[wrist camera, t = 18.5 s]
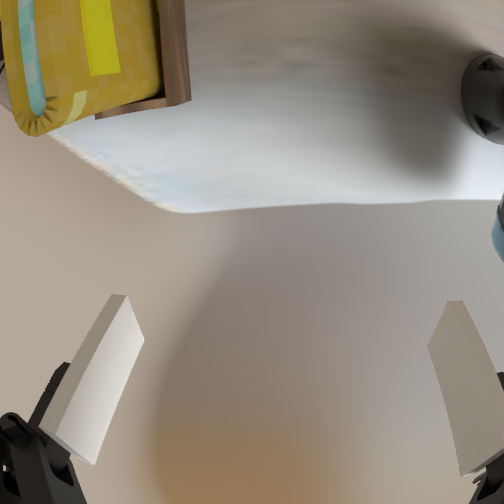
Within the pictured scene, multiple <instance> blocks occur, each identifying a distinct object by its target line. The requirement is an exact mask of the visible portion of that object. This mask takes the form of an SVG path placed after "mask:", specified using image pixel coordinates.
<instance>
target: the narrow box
mask: <svg viewBox="0 0 504 504" xmlns="http://www.w3.org/2000/svg"><path fill="white" fill-rule="evenodd" d="M159 18H160V34H161V48H162V61H163V73H164V83H165V91H163V92H162V93H161V94H159V95H156V96H152V97H149V98H145V99H141V100H138V101H134V102H131V103H127V104H124V105H121V106H117V107H114V108H111V109H108V110H105V111H102V112H99V113H96V114H95V120H97V119H101V118H106V117H111V116H115V115H121V114H126V113H131V112H137V111H143V110H149V109H156V108H163V107H170V106H177V105H179V104H182V103H185V102H188V101H191V90H190V79H189V66H188V53H187V39H186V23H185V5H184V0H159Z"/></svg>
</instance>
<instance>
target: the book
mask: <svg viewBox="0 0 504 504" xmlns="http://www.w3.org/2000/svg"><path fill="white" fill-rule="evenodd" d="M0 17H1V31H2V43H3V53H4V62H5V69H6V76H7V82H8V88H9V94H10V99H11V104H12V109H13V114H14V118H15V121H16V122H17V124H18V126H19V128H20V129H21V130H22V131H23V132H24V133H26V134H27V135H29V136H36V137H38V136H40V135H42V134H45V133H47V132H49V131H52V130H54V129H56V128H59V127H61V126H64V125H66V124H69V123H71V122H74V121H77V120H79V119H82V118H85V117H88V116H90V115H93V114H96V113H99V112H102V111H105V110H108V109H111V108H114V107H117V106H121V105H124V104H127V103H131V102H134V101H138V100H141V99H145V98H149V97H152V96H156V95H159V94H161V93H162V92H163V91H165V83H164V73H163V61H162V48H161V34H160V18H159V0H0Z"/></svg>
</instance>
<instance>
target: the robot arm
mask: <svg viewBox="0 0 504 504" xmlns="http://www.w3.org/2000/svg"><path fill="white" fill-rule="evenodd" d="M461 94H462V103H463V107H464V111H465V114H466V116H467V118H468V120H469V122H470V124H471V125H472V127H473V128H474V130H475V131H476V132H477V133H478V134H479V135H481V136H482V137H484V138H485V139H487V140H489V141H491V142H493V143H496V144H501V145H504V57H501V56H496V55H482V56H479V57H477V58H476V59H474V60H473V61H472V62H471V63H470V64H469V66H468V67H467V69H466V71H465V73H464V76H463V80H462V89H461ZM492 239H493V245H494V247H495V250H496V252H497V253H498V255H499V257H500V258H501V259H502V261H503V262H504V193H503V196H502V199H501V202H500V204H499V205H498V208H497V215H496V219H495V222H494V225H493V228H492ZM143 342H144V338H143V335H142V333H141V330H140V328H139V325H138V323H137V320H136V318H135V315H134V313H133V310H132V307H131V305H130V302H129V300H128V297H127V295H115V294H113V295H111V296H110V298H109V300H108V301H107V303H106V305H105V306H104V308H103V310H102V311H101V312H100V314H99V316H98V317H97V319H96V321H95V322H94V324H93V326H92V327H91V329H90V331H89V332H88V334H87V336H86V337H85V339H84V341H83V343H82V345H81V346H80V348H79V350H78V351H77V353H76V355H75V357H74V358H73V360H72V362H71V363H67V362H64V363H63V364H62V365H61V366H60V367H58V368H57V369H56V370H55V372H54V374H53V376H52V377H51V379H50V383H48V385H47V387H46V388H45V392H43V394H42V396H41V398H40V400H39V402H38V404H37V406H36V408H35V410H34V412H33V414H32V416H31V418H30V420H29V421H28V423H26V422H25V421H24V420H23V419H22V418H21V417H20V416H19V415H18V414H16V413H13V412H9V413H6V414H4V415H3V416H2V417H1V418H0V504H87V502H86V500H85V497H84V495H83V492H82V490H81V487H80V484H79V482H78V479H77V476H76V473H75V470H74V467H73V464H72V462H71V460H70V458H69V457H70V454H72V455H73V456H75V457H76V458H77V459H79V460H81V461H84V462H86V463H89V464H92V465H95V462H96V459H97V457H98V454H99V451H100V448H101V445H102V443H103V440H104V437H105V435H106V432H107V429H108V427H109V424H110V422H111V419H112V417H113V414H114V412H115V409H116V406H117V404H118V401H119V399H120V396H121V394H122V392H123V389H124V387H125V384H126V382H127V379H128V377H129V374H130V372H131V370H132V367H133V365H134V363H135V361H136V358H137V356H138V354H139V351H140V349H141V347H142V344H143ZM428 349H429V352H430V355H431V359H432V362H433V365H434V368H435V371H436V374H437V377H438V381H439V384H440V387H441V391H442V394H443V398H444V402H445V405H446V409H447V413H448V417H449V421H450V425H451V429H452V434H453V438H454V443H455V448H456V453H457V457H458V463H459V468H460V474H461V477H464V476H467V475H470V474H473V473H476V472H478V471H480V470H481V469H483V468H484V467H486V472H484V473H482V474H481V475H479V476H478V477H477V478H475V479H474V481H473V484H474V483H476V482H478V481H479V480H481V481H480V482H479V483H478V484H477V485H478V487H477V489H476V491H475V493H474V495H473V497H472V499H471V501H470V503H469V504H504V373H503V372H499V373H496V371H495V368H494V366H493V364H492V361H491V359H490V357H489V354H488V352H487V350H486V348H485V346H484V343H483V341H482V339H481V337H480V335H479V333H478V331H477V329H476V327H475V325H474V323H473V321H472V319H471V317H470V315H469V313H468V311H467V309H466V307H465V305H464V303H463V301H448V302H447V304H446V307H445V309H444V311H443V314H442V316H441V318H440V320H439V323H438V325H437V327H436V329H435V332H434V334H433V335H432V338H431V340H430V342H429V344H428ZM3 465H5V466H6V471H3Z"/></svg>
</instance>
